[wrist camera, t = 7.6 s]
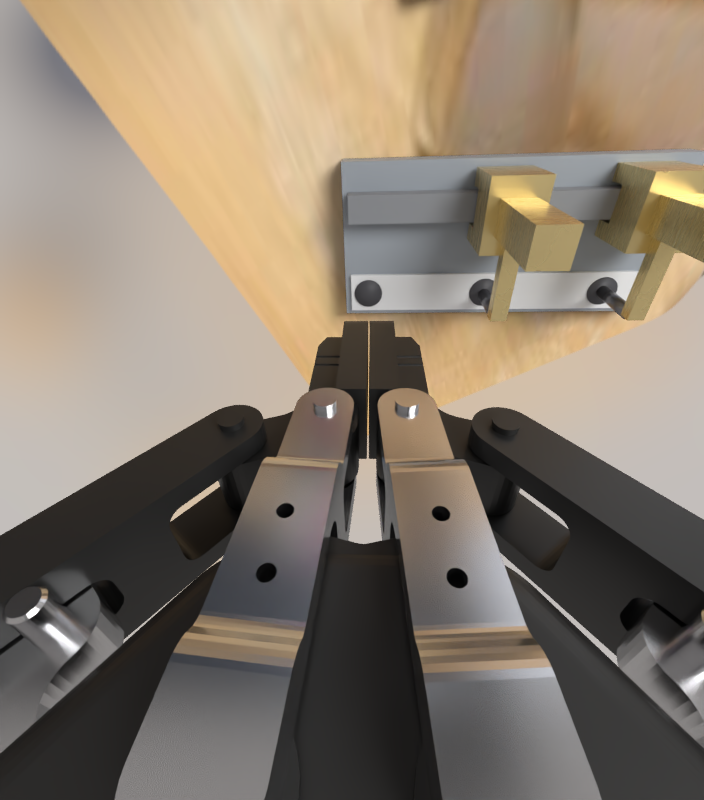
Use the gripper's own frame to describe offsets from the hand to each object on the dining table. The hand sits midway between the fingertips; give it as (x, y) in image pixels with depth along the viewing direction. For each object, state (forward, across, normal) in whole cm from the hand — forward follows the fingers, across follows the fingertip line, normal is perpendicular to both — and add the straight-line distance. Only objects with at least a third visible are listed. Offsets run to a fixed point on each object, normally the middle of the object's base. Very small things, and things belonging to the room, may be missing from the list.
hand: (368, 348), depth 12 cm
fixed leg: (+23, -20, +3) cm, 30 cm away
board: (+25, -11, +4) cm, 27 cm away
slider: (+22, -10, +3) cm, 25 cm away
